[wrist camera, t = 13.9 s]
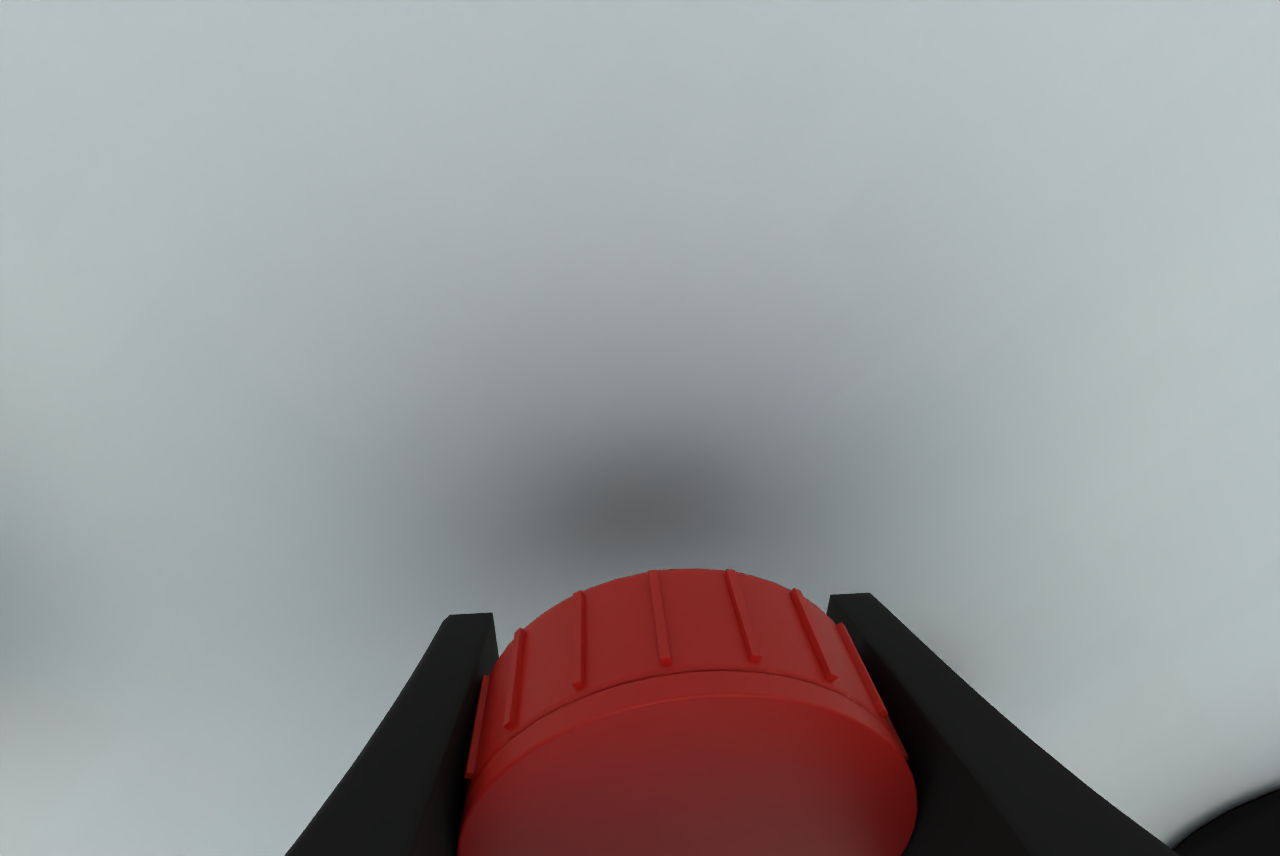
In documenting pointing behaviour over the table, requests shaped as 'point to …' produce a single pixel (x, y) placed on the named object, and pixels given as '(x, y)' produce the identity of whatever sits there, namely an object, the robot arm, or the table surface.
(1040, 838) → the robot arm
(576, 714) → the lid
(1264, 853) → the coffee jar
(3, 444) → the table surface
